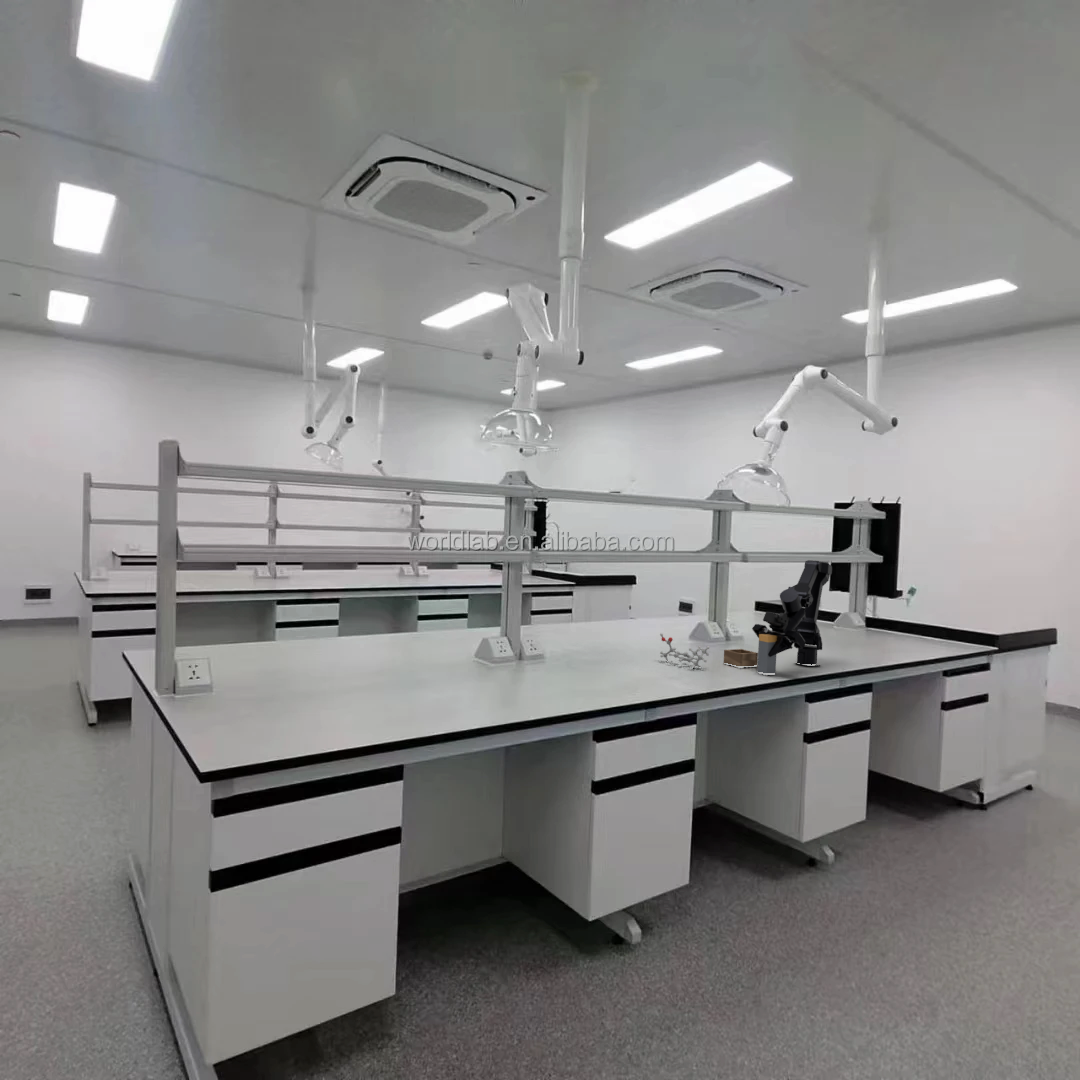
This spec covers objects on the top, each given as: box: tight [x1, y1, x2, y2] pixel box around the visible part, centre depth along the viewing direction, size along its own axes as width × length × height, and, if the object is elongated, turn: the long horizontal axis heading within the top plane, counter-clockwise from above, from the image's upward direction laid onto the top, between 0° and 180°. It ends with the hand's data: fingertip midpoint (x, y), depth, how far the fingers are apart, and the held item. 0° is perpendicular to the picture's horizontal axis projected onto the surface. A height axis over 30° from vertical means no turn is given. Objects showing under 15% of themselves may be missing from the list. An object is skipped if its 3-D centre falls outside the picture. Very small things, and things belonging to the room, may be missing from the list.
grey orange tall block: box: [756, 634, 777, 674], centre depth 225 cm, size 4×4×13 cm
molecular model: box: [659, 632, 710, 668], centre depth 234 cm, size 19×10×10 cm, turn 31°
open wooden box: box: [723, 648, 758, 666], centre depth 238 cm, size 8×8×5 cm
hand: (764, 654), depth 224 cm, fingers closed on grey orange tall block, 4 cm apart
